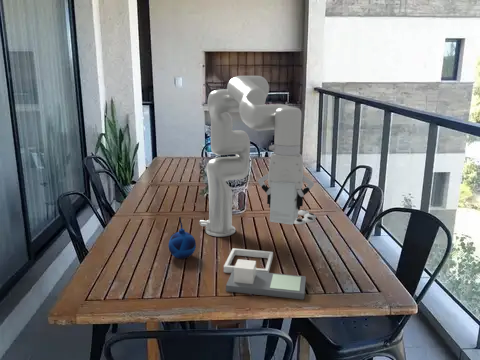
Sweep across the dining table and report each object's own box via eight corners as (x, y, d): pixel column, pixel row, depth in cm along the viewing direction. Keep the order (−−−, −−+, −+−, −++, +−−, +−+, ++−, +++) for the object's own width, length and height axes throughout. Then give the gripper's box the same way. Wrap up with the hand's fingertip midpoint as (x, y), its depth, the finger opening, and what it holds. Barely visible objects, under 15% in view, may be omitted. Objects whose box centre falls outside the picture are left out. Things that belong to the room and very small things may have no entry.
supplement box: (293, 225, 125) (295, 183, 121) (269, 222, 127) (270, 181, 124) (298, 217, 131) (300, 177, 128) (275, 214, 134) (277, 175, 131)
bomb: (189, 248, 162) (188, 211, 158) (200, 260, 152) (199, 221, 148) (164, 253, 157) (163, 215, 153) (173, 265, 148) (172, 225, 144)
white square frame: (223, 272, 144) (223, 266, 143) (232, 253, 158) (232, 248, 157) (267, 276, 141) (267, 270, 140) (272, 257, 155) (272, 251, 154)
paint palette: (302, 228, 184) (302, 224, 184) (266, 218, 196) (266, 214, 196) (324, 217, 198) (325, 213, 198) (290, 208, 211) (290, 204, 210)
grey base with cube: (225, 291, 131) (226, 270, 130) (233, 274, 142) (233, 255, 140) (304, 299, 127) (305, 278, 125) (305, 281, 138) (306, 262, 136)
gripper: (255, 151, 122) (254, 209, 126) (317, 154, 119) (313, 213, 123) (259, 146, 129) (258, 201, 133) (317, 149, 126) (314, 205, 130)
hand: (284, 207), depth 128 cm, fingers closed on supplement box, 8 cm apart
